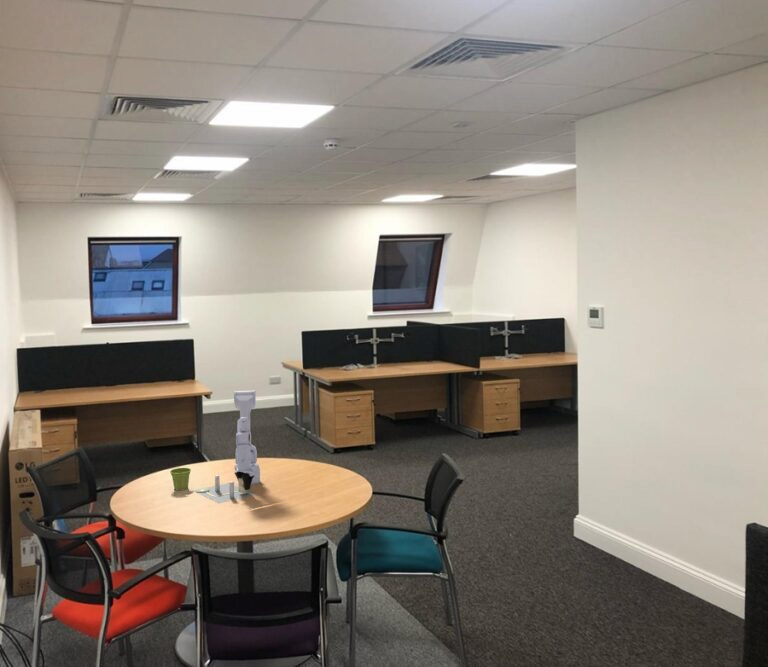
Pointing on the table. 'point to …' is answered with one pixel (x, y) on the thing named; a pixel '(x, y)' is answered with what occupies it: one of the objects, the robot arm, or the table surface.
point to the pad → (202, 490)
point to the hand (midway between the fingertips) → (244, 488)
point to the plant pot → (180, 478)
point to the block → (242, 486)
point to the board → (224, 492)
